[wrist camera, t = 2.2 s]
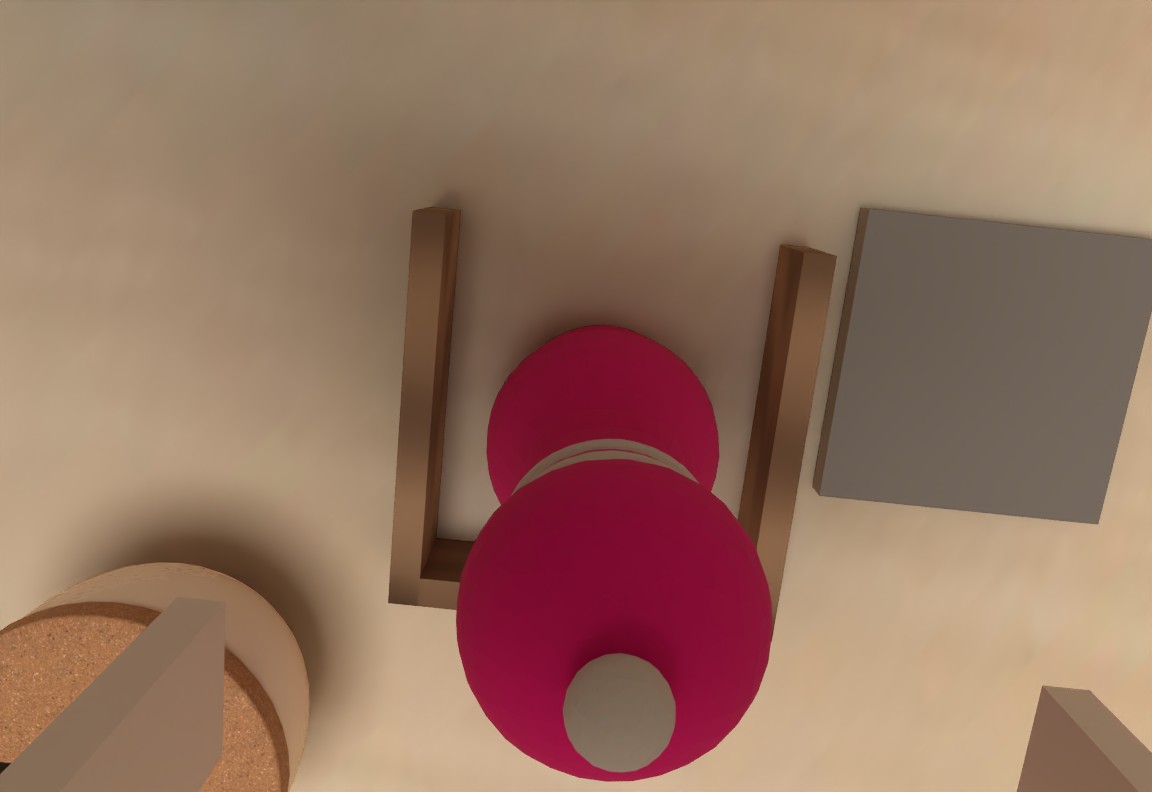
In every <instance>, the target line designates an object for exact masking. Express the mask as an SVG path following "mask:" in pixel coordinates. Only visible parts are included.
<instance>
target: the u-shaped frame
mask: <svg viewBox="0 0 1152 792" xmlns="http://www.w3.org/2000/svg"><path fill="white" fill-rule="evenodd" d="M460 212H461V210H454V209H444V208H435V207H430V208H425V209H420V210H415V211H413V216H412V232H411V248H410V264H409V280H408V296H407V312H406V328H405V343H404V359H403V375H402V391H401V407H400V423H399V439H398V455H397V471H396V487H395V503H394V519H393V535H392V551H391V567H390V583H389V598H388V603H394V604H404V605H414V606H423V607H433V608H443V609H453V610H457V598H458V592H459V586H460V581H461V575H462V571H463V568H464V566H465V563H466V561H467V558H468V556H469V553H470V551H471V548H472V547H473V545H474V543H475V542H465V541H456V540H446V539H436V534H437V521H438V507H439V494H440V481H441V467H442V454H443V440H444V427H445V413H446V400H447V387H448V373H449V360H450V346H451V333H452V320H453V306H454V293H455V279H456V266H457V252H458V239H459V226H460ZM836 258H837V256H834V255H831V254H828V253H825V252H822V251H819V250H815V249H812V248H808V247H799V246H790V245H781V246H780V253H779V259H778V266H777V272H776V279H775V285H774V291H773V298H772V304H771V311H770V317H769V324H768V330H767V337H766V343H765V350H764V356H763V363H762V369H761V376H760V382H759V388H758V395H757V401H756V408H755V414H754V421H753V427H752V434H751V440H750V447H749V453H748V460H747V466H746V472H745V479H744V485H743V492H742V498H741V505H740V511H739V518H738V521H739V523H740V524H741V525H742V527H743V528H744V530H745V531H746V532H747V534H748V535H749V537H750V538H751V540H752V541H753V543H754V545H755V548H756V551H757V554H758V556H759V559H760V562H761V565H762V567H763V570H764V573H765V576H766V579H767V582H768V585H769V591H770V596H771V602H772V622H773V629H772V636H773V630H774V624H775V618H776V613H777V607H778V601H779V595H780V589H781V583H782V577H783V571H784V565H785V559H786V553H787V548H788V542H789V536H790V530H791V524H792V518H793V512H794V506H795V500H796V494H797V488H798V482H799V477H800V471H801V465H802V459H803V453H804V447H805V441H806V435H807V429H808V423H809V417H810V412H811V406H812V400H813V394H814V388H815V382H816V376H817V370H818V364H819V358H820V352H821V347H822V341H823V335H824V329H825V323H826V317H827V311H828V305H829V299H830V293H831V287H832V281H833V276H834V270H835V264H836ZM771 641H772V637H771Z"/></svg>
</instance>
